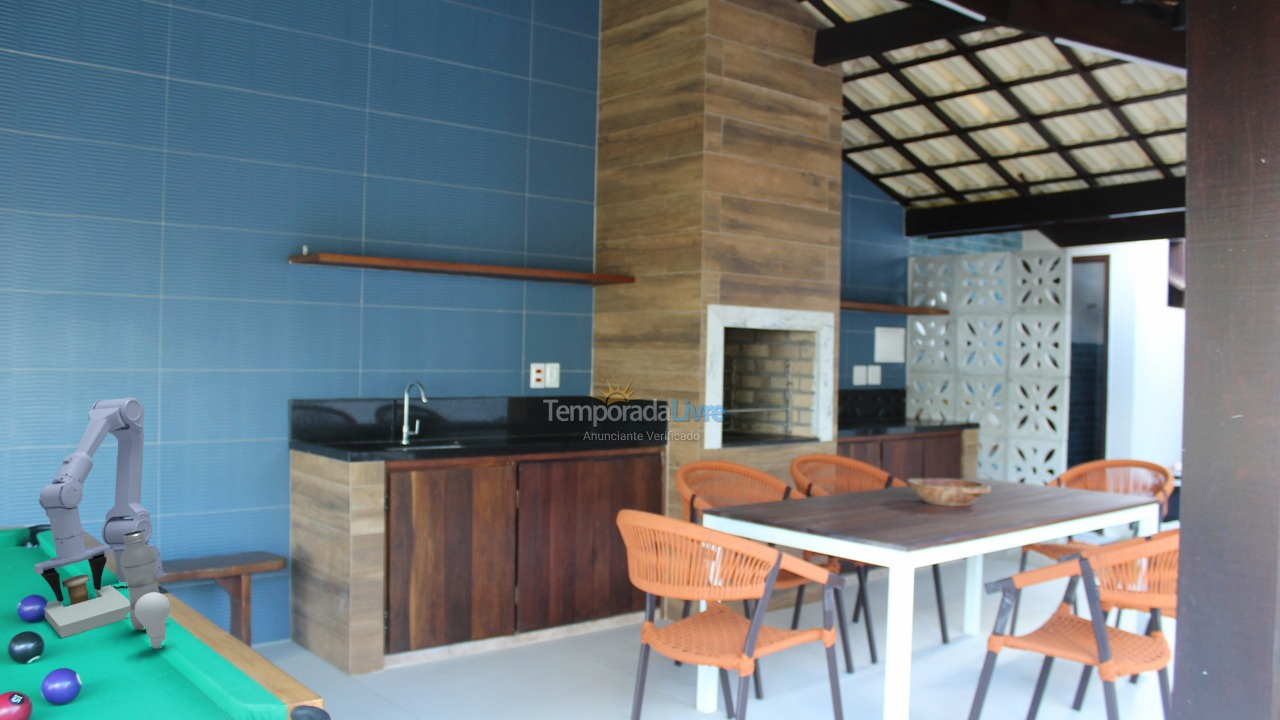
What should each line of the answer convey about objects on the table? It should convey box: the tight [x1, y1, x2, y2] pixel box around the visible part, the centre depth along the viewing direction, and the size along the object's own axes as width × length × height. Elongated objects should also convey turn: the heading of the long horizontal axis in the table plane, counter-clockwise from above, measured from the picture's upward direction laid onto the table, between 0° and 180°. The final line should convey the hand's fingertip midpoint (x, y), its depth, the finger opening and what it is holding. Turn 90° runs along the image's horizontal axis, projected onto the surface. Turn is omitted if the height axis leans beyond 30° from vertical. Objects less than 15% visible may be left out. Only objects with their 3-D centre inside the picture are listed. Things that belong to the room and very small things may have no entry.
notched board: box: [44, 584, 131, 639], centre depth 215 cm, size 22×14×2 cm, turn 40°
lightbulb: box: [134, 592, 171, 650], centre depth 189 cm, size 6×6×11 cm
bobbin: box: [61, 574, 90, 605], centre depth 220 cm, size 5×5×7 cm
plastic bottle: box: [120, 531, 160, 631], centre depth 201 cm, size 6×7×20 cm
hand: (79, 595), depth 220 cm, fingers open, 7 cm apart
